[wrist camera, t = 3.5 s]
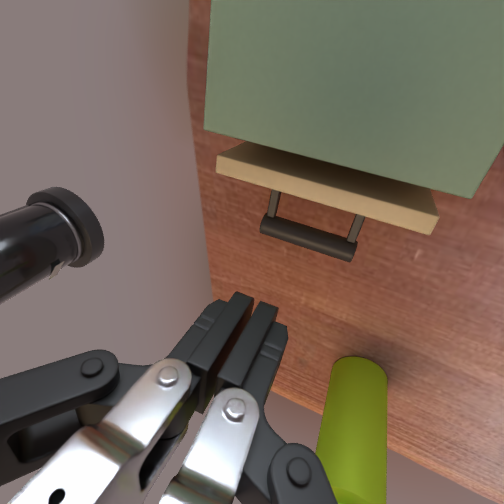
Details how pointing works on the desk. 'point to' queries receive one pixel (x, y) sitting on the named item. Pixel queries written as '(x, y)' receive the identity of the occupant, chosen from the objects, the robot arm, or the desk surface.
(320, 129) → the cabinet
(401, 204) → the drawer
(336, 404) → the soap dispenser
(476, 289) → the desk surface
